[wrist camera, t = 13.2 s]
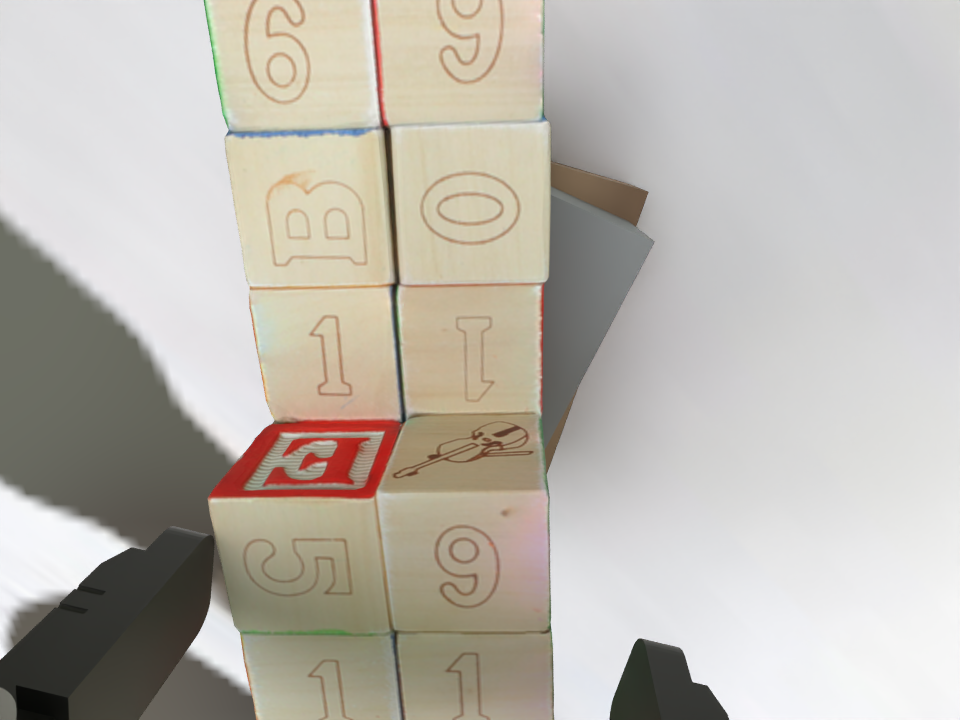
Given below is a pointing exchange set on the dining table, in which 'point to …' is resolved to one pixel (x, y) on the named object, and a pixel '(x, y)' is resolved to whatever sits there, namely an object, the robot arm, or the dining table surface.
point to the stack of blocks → (390, 357)
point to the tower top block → (582, 293)
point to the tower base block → (607, 197)
